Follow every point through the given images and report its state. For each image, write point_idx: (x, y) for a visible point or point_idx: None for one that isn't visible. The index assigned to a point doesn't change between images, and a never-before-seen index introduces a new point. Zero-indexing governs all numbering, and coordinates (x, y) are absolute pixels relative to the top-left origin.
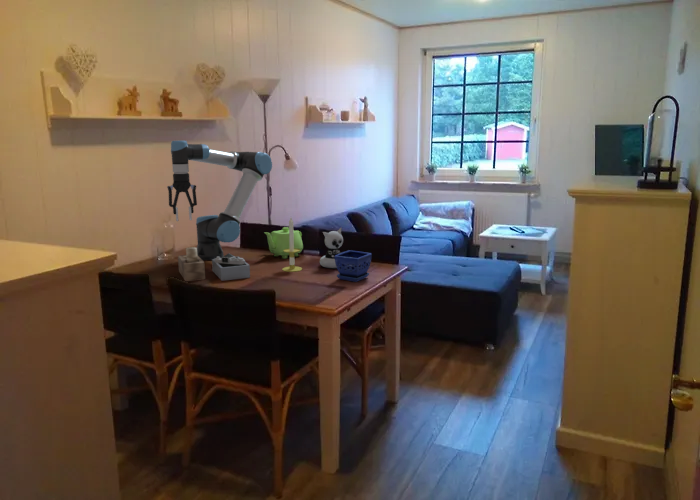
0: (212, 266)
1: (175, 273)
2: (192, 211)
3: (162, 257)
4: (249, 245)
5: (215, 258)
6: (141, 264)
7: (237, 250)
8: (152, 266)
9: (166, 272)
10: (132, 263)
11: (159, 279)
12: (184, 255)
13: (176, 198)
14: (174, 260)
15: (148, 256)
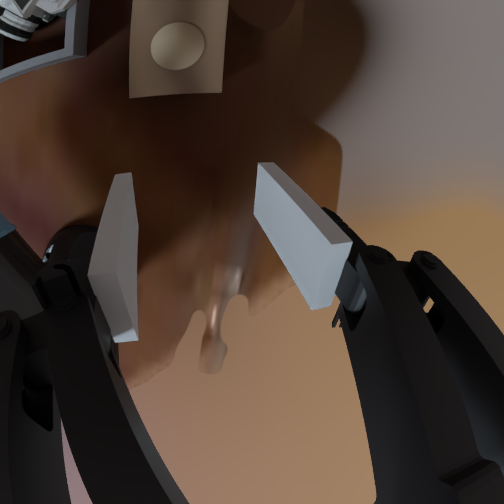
0: (81, 49)
1: (226, 64)
2: (85, 245)
3: (226, 295)
4: None
5: (66, 1)
6: None
7: None
8: None
9: (252, 94)
10: None
11: (294, 15)
12: (190, 84)
13: (437, 379)
14: (197, 254)
15: (257, 310)
